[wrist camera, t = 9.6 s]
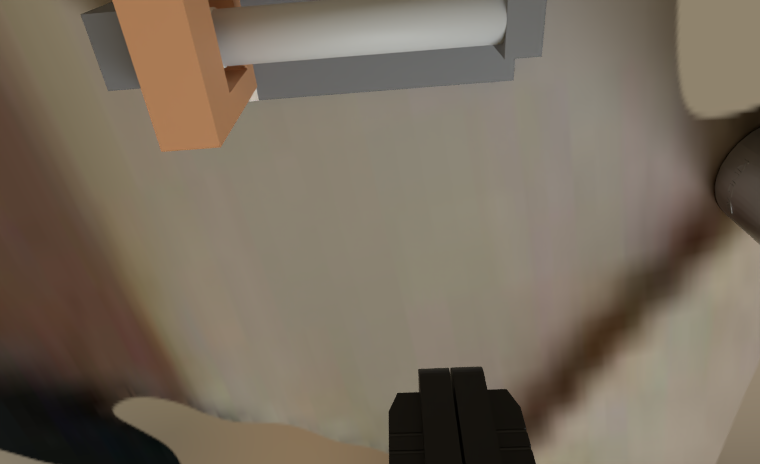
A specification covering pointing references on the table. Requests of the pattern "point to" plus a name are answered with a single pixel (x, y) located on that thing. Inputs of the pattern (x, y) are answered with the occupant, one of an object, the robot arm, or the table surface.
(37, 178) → the table surface
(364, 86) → the pipe rail
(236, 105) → the collar
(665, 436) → the table surface
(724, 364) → the table surface
